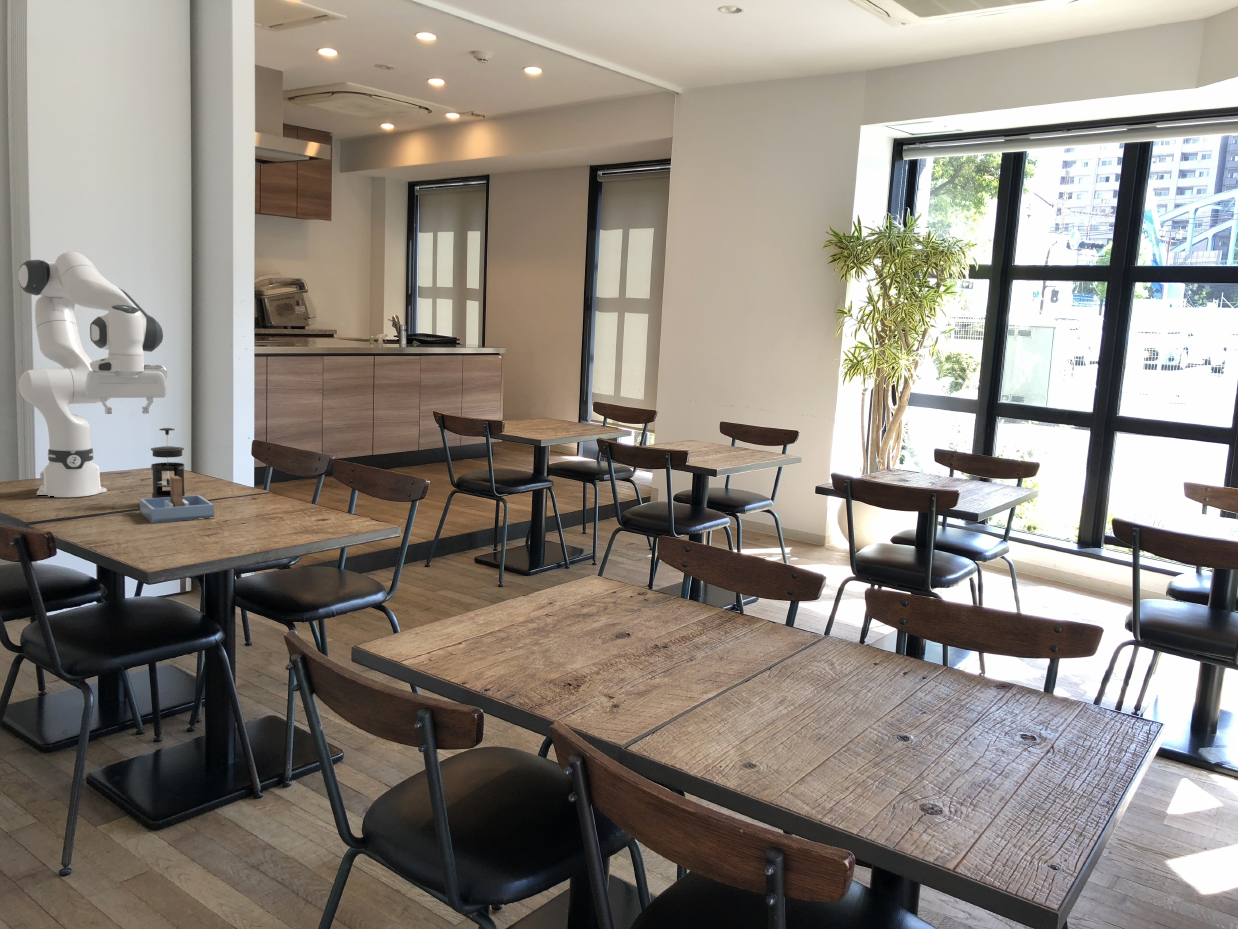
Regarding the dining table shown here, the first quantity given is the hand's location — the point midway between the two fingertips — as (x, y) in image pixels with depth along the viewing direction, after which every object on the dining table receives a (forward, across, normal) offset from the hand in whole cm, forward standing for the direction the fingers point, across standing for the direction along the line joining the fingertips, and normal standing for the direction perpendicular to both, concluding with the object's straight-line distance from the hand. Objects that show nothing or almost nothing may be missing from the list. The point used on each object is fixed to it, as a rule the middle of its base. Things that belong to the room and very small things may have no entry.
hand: (127, 413), depth 260 cm
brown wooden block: (+27, -10, +10) cm, 31 cm away
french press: (+29, -13, -8) cm, 33 cm away
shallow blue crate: (+28, -10, +10) cm, 32 cm away
